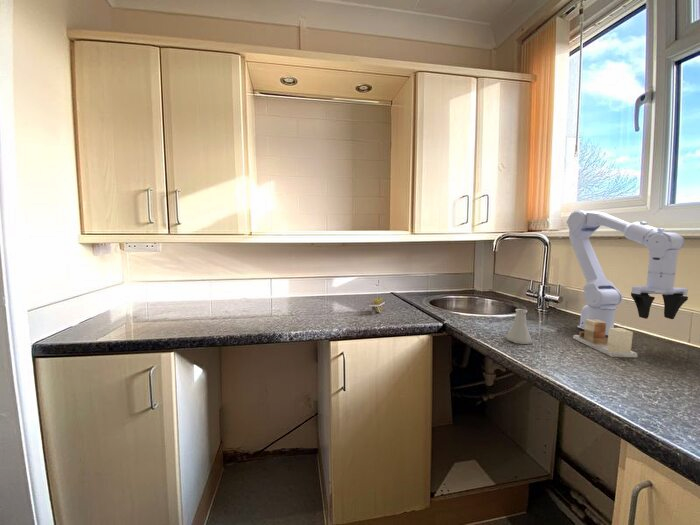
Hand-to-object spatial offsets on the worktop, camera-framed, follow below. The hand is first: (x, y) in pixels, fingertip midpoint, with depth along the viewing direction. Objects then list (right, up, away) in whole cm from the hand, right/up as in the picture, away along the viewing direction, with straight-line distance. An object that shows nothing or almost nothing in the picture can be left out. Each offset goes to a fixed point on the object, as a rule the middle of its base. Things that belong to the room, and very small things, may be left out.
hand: (656, 318), depth 91 cm
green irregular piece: (-80, -5, +35) cm, 88 cm away
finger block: (-15, -8, +4) cm, 17 cm away
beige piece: (-15, -9, +1) cm, 18 cm away
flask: (-38, -9, +5) cm, 39 cm away
